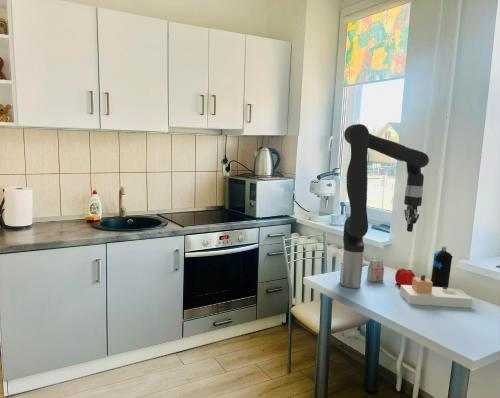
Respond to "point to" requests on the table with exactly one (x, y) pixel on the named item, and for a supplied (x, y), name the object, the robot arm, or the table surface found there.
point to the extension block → (437, 297)
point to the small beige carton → (375, 271)
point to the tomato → (404, 276)
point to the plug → (422, 285)
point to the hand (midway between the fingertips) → (409, 231)
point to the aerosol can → (441, 268)
